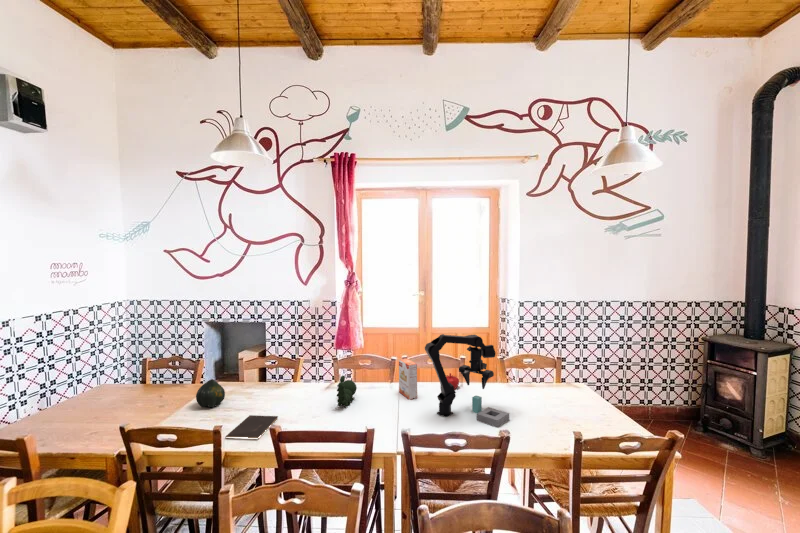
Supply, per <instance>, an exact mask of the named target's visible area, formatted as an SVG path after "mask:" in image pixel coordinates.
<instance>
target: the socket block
mask: <svg viewBox="0 0 800 533" xmlns="http://www.w3.org/2000/svg"><path fill="white" fill-rule="evenodd" d="M475 414H476V415H475V416H476V418H475V419H476V421H477V422H480V423H483V424H485V425H486V424H487V425H488V426H492V427H495V428H499V427H501V426H502V425H504V424H505V423H506V422H508V421H510V413H509V412H507V411H504V410H500V409H497V408H494V407H490V406H488V407H485V409H484V408H483V409H482V411H481V412H479V413H475Z"/></svg>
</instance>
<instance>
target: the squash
mask: <svg viewBox="0 0 800 533" xmlns="http://www.w3.org/2000/svg"><path fill="white" fill-rule="evenodd" d="M225 397H226V391H225V389H224V387H223V386H222V385H220V384H219V383H218V382H217V381H216V379H213V378H211V379H209V380H208V381H206V382H205V383H204V384H202V385H201V386H200V387H199V389H198V390H197V392H196V394H195V400H196V402H197V404H198V405H199V406H200V407H208V408H210V407H212V408H214V407H216V406H215V405H218V406H219V405H220V404H222V402H223V401H224V400H225ZM213 406H214V407H213Z"/></svg>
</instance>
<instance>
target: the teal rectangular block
mask: <svg viewBox="0 0 800 533" xmlns="http://www.w3.org/2000/svg"><path fill="white" fill-rule="evenodd" d="M471 398H472V399H471V400H472V402H471V404H472V405H471V407H472V410H471V411H472V413H475V414H477V413H479V412H481V411H482V410H483V406H482V396H479V395H474V396H472V397H471Z"/></svg>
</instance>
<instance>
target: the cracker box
mask: <svg viewBox="0 0 800 533" xmlns="http://www.w3.org/2000/svg"><path fill="white" fill-rule="evenodd" d="M398 391H399V392H398V393H400V394H401V395H402V394H403V395H402V396H404V397H405V398H406V397H407V398H406V399H407V400H409V399H410V400H414V399H413V398H415V399H418V364H417V363H416V362H414V361H412V360H411V359H408V357H407V358H401V359H400V358H399V359H398Z"/></svg>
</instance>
